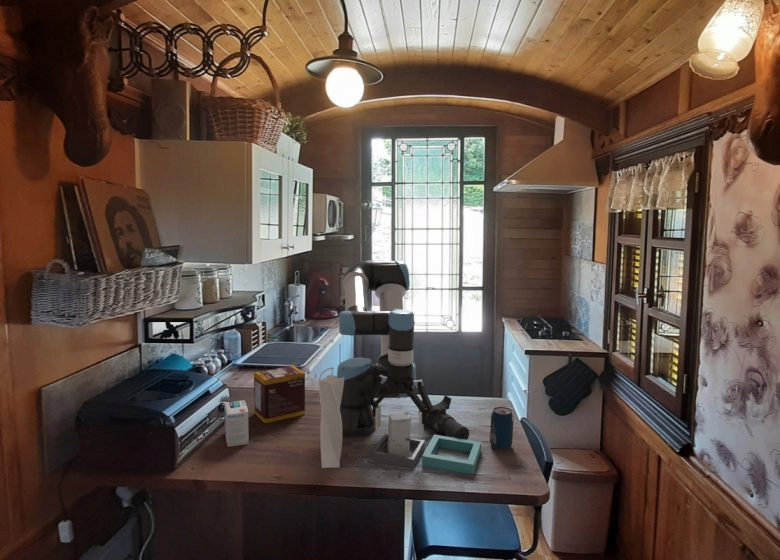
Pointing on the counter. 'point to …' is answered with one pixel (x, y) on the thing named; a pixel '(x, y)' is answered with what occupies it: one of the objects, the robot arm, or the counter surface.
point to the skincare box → (399, 434)
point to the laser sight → (446, 421)
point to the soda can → (501, 428)
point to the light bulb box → (236, 423)
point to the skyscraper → (330, 419)
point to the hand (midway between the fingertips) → (399, 430)
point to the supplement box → (279, 393)
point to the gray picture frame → (398, 459)
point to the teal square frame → (448, 462)
